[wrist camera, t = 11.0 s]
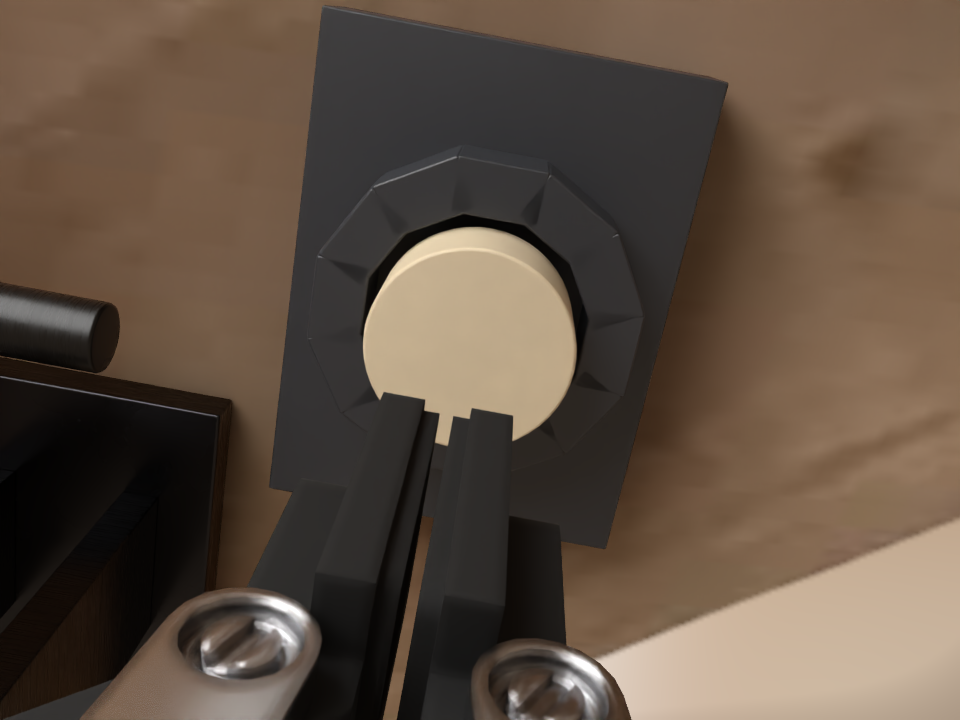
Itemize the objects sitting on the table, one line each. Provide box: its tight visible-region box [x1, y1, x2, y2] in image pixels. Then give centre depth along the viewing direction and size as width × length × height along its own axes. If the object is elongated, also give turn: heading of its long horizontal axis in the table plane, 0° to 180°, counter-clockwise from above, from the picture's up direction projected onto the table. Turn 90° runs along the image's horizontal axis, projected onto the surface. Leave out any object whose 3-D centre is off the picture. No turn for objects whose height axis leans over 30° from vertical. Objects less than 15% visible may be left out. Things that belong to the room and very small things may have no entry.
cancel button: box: [363, 227, 577, 446], centre depth 20 cm, size 4×4×2 cm
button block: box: [269, 5, 728, 549], centre depth 22 cm, size 12×9×4 cm
